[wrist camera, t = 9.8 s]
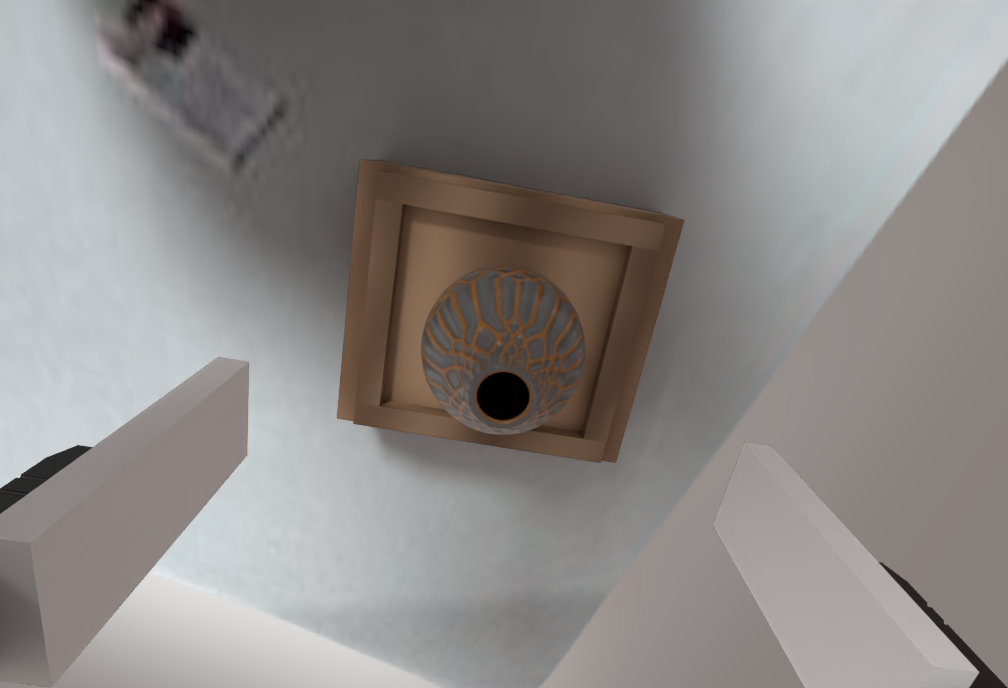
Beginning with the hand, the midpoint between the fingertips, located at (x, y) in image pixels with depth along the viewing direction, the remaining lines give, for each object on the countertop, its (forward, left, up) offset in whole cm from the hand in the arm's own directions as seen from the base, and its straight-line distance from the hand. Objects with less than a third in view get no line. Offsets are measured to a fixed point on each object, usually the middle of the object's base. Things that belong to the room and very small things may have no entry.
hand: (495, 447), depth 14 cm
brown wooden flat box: (0, 0, -17) cm, 17 cm away
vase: (0, 0, -13) cm, 13 cm away
